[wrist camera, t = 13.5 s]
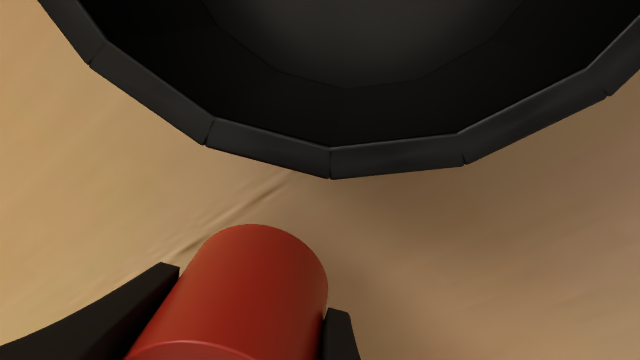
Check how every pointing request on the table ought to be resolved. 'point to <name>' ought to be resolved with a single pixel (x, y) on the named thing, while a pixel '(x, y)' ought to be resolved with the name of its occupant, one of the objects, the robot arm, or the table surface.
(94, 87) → the table surface
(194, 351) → the tin
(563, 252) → the table surface
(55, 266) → the table surface
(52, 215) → the table surface
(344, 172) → the cooker
